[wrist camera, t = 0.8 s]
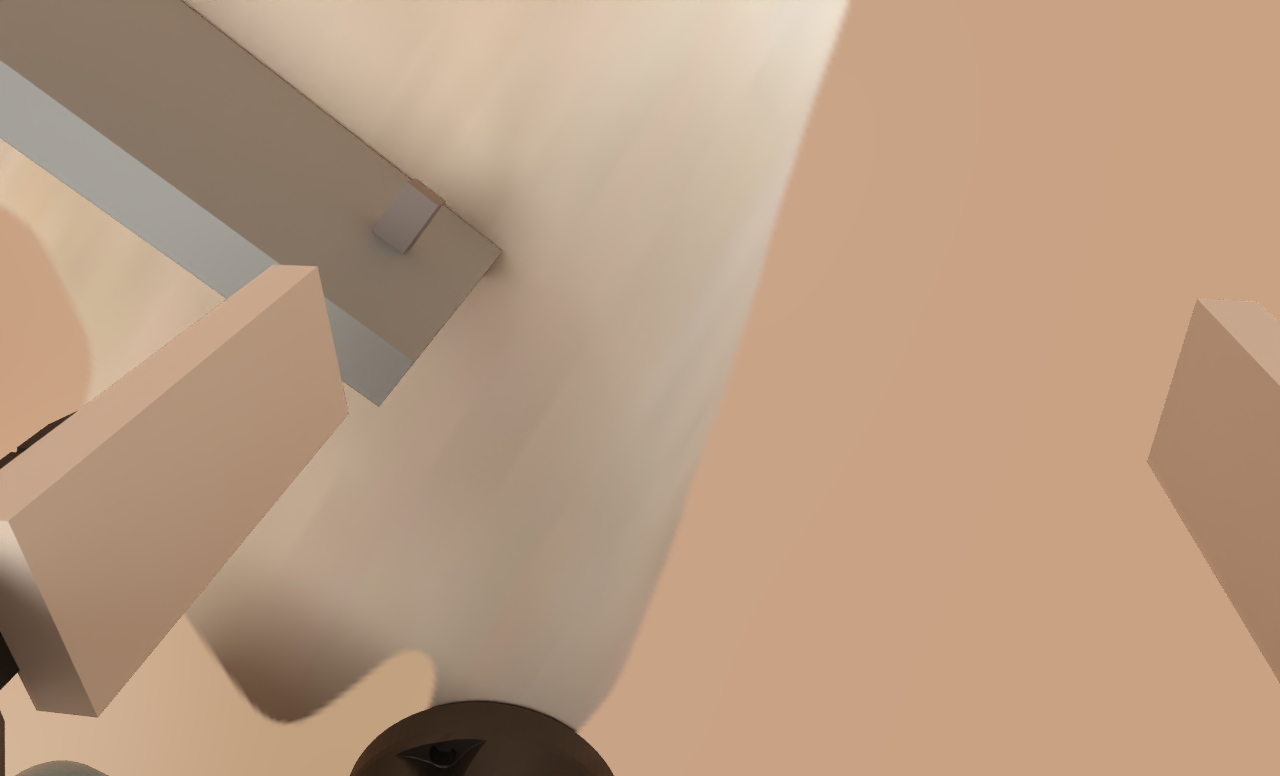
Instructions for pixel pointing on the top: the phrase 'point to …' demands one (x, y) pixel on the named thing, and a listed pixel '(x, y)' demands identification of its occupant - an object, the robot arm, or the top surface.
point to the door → (233, 171)
